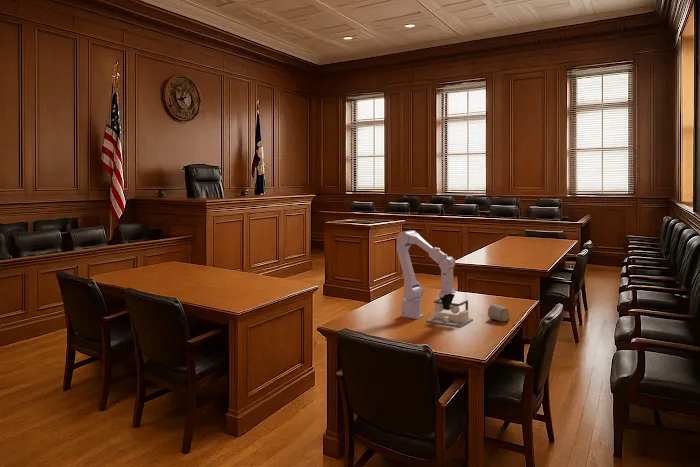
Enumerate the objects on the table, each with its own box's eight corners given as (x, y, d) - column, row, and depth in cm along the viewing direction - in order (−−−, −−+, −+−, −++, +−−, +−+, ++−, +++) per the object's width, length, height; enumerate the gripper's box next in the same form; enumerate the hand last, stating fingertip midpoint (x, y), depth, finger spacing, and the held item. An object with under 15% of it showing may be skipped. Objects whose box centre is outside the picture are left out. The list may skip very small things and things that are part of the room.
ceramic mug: (501, 323, 247) (501, 307, 247) (487, 319, 254) (487, 304, 253) (513, 319, 254) (514, 304, 253) (499, 316, 260) (500, 301, 260)
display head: (460, 327, 241) (460, 316, 241) (426, 321, 252) (426, 310, 251) (473, 320, 253) (473, 309, 253) (439, 315, 264) (440, 304, 263)
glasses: (459, 314, 244) (459, 304, 244) (433, 310, 253) (433, 301, 252) (468, 310, 253) (468, 300, 252) (442, 306, 261) (442, 297, 260)
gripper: (448, 285, 239) (448, 313, 241) (460, 280, 251) (460, 307, 252) (434, 283, 243) (434, 311, 245) (447, 278, 255) (447, 305, 257)
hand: (446, 309), depth 249 cm, fingers closed on glasses
